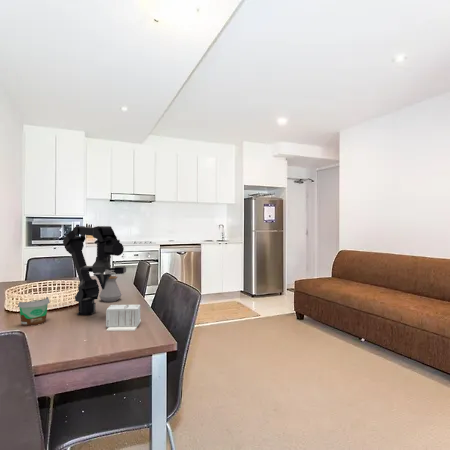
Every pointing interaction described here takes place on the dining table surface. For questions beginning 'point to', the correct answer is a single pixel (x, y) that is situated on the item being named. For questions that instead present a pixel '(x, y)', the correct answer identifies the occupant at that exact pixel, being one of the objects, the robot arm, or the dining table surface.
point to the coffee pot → (110, 290)
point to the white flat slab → (123, 328)
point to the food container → (33, 312)
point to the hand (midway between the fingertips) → (103, 289)
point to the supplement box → (122, 315)
